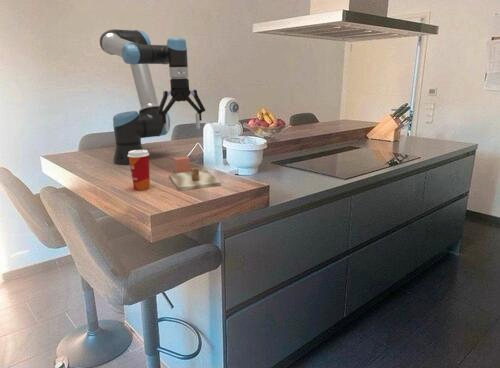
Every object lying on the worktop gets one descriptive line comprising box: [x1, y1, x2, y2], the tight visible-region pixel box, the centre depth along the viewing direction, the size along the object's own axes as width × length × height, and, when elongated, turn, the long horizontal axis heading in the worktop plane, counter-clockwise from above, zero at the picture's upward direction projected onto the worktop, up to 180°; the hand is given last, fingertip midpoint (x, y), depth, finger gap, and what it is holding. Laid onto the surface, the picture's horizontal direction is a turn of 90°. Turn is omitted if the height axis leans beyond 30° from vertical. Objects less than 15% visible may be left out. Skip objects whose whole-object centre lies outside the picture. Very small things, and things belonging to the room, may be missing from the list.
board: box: [168, 167, 222, 192], centre depth 146 cm, size 16×20×6 cm
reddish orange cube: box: [172, 155, 191, 174], centre depth 161 cm, size 6×6×6 cm
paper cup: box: [128, 149, 151, 191], centre depth 137 cm, size 8×8×14 cm
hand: (183, 129), depth 160 cm, fingers open, 13 cm apart
